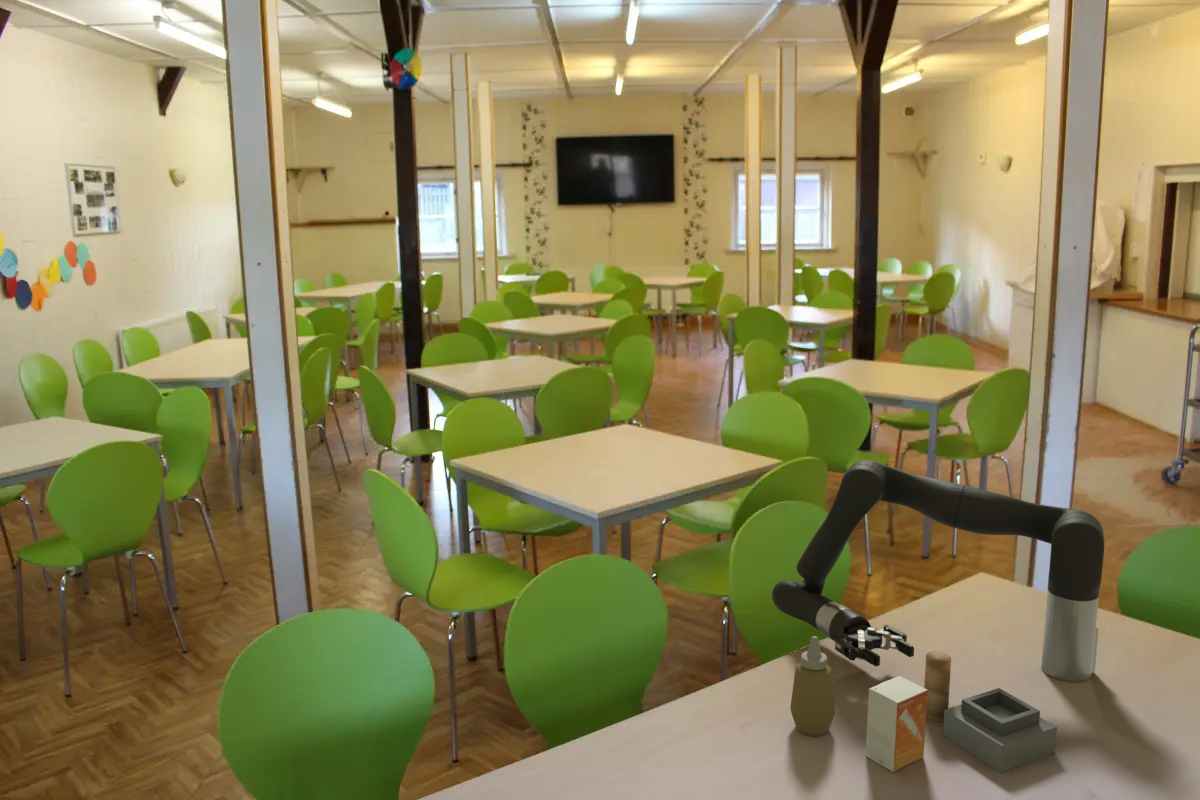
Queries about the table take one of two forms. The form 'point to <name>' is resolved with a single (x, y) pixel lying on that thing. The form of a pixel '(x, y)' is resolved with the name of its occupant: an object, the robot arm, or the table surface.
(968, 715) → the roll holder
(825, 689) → the squeeze bottle
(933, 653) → the cardboard roll
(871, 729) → the small box
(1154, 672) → the table surface
